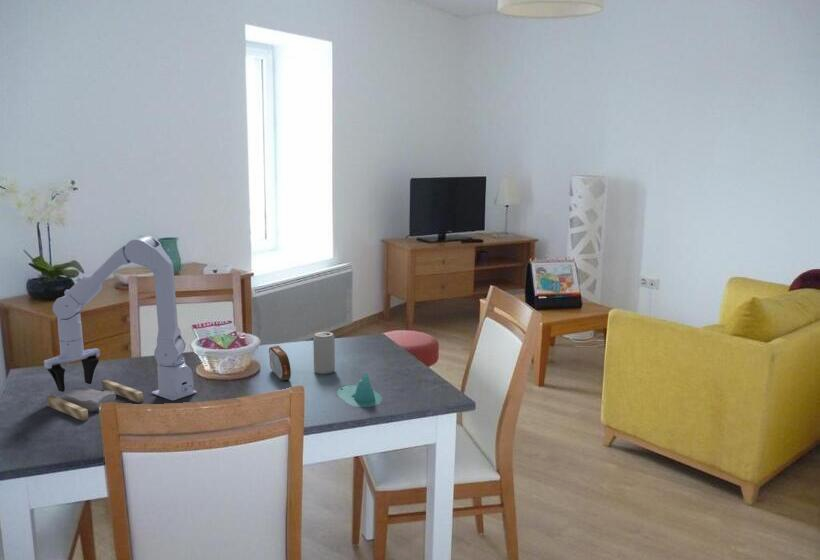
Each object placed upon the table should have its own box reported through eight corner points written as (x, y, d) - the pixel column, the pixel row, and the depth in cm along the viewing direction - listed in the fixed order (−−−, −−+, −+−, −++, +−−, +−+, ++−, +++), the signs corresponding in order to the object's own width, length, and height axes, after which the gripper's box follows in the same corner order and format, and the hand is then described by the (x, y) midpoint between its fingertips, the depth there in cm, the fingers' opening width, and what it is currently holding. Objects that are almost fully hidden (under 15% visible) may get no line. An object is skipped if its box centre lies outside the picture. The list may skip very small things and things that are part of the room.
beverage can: (338, 372, 211) (338, 334, 209) (319, 376, 207) (319, 337, 205) (329, 367, 216) (328, 330, 214) (310, 370, 213) (309, 333, 210)
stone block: (84, 402, 190) (56, 408, 180) (85, 385, 190) (58, 390, 180) (121, 408, 187) (95, 415, 177) (122, 391, 187) (97, 396, 177)
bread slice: (292, 383, 202) (291, 355, 200) (281, 384, 200) (280, 356, 199) (277, 368, 215) (277, 342, 213) (267, 369, 214) (267, 343, 212)
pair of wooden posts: (143, 401, 186) (142, 392, 186) (82, 420, 173) (81, 411, 172) (107, 387, 196) (106, 379, 196) (47, 405, 182) (46, 396, 182)
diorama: (365, 382, 204) (365, 354, 202) (394, 405, 186) (394, 374, 185) (325, 388, 198) (325, 359, 197) (351, 412, 181) (351, 381, 179)
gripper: (88, 331, 195) (92, 377, 198) (36, 342, 183) (41, 391, 186) (102, 335, 191) (106, 382, 194) (50, 347, 179) (54, 396, 182)
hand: (75, 387), depth 190 cm, fingers open, 7 cm apart
